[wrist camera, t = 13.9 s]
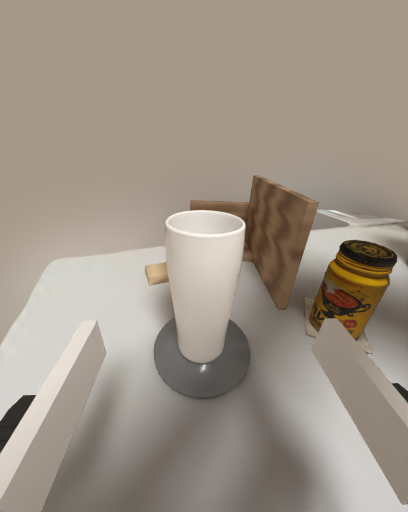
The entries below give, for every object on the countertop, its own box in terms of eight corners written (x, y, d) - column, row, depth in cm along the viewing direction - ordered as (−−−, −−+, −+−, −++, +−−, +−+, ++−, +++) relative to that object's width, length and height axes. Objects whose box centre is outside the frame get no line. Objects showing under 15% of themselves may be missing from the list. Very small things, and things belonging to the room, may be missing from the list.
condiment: (306, 335, 27) (339, 254, 21) (303, 296, 34) (328, 228, 28) (372, 355, 24) (429, 270, 19) (354, 309, 31) (392, 238, 26)
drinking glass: (242, 348, 24) (264, 223, 17) (196, 387, 20) (200, 244, 13) (204, 315, 28) (208, 206, 21) (160, 341, 24) (148, 217, 17)
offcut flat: (149, 287, 35) (148, 277, 34) (146, 274, 38) (145, 265, 37) (194, 278, 37) (194, 269, 37) (187, 267, 41) (187, 259, 40)
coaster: (267, 351, 24) (268, 348, 24) (197, 427, 17) (198, 424, 17) (204, 303, 31) (204, 300, 31) (136, 344, 24) (135, 340, 24)
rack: (285, 309, 31) (319, 202, 23) (188, 309, 30) (190, 198, 22) (247, 241, 52) (257, 174, 45) (189, 240, 51) (190, 172, 44)
